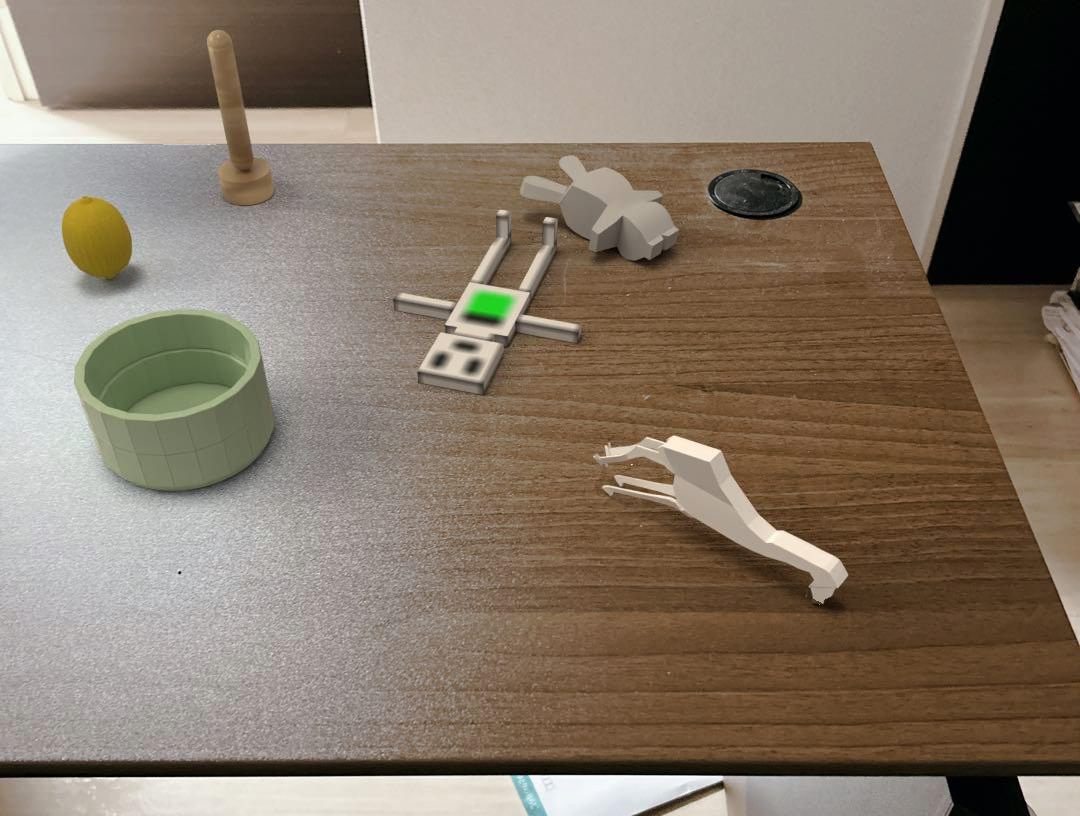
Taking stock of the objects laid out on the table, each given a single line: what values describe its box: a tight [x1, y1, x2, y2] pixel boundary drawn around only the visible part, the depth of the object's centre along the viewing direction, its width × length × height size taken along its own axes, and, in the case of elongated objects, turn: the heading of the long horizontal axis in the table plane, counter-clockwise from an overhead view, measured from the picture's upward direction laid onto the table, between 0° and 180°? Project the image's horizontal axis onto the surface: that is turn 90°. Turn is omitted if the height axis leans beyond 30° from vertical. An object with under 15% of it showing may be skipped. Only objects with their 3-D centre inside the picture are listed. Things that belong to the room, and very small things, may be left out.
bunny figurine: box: [518, 154, 680, 261], centre depth 105 cm, size 10×5×15 cm
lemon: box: [61, 195, 133, 281], centre depth 98 cm, size 6×6×8 cm
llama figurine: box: [592, 435, 849, 605], centre depth 77 cm, size 2×11×18 cm
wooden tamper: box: [206, 29, 275, 206], centre depth 106 cm, size 5×5×16 cm
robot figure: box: [392, 209, 583, 396], centre depth 97 cm, size 16×3×22 cm
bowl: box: [73, 308, 275, 492], centre depth 84 cm, size 13×13×7 cm
